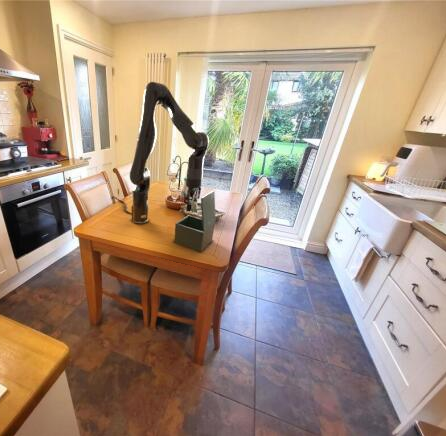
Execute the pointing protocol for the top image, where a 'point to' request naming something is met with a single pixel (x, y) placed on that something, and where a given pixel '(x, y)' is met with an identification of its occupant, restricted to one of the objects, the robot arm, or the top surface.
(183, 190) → the milk bottle
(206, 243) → the bin
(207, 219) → the bin lid
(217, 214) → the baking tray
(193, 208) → the paper ball
